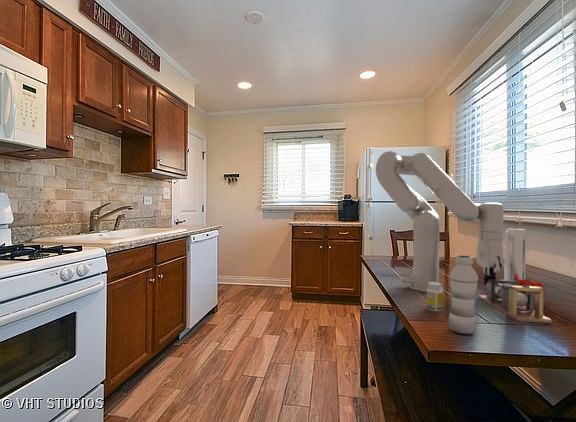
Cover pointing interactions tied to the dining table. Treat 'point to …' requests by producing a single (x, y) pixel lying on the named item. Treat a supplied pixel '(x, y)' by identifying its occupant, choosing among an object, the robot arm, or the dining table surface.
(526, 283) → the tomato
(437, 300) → the supplement bottle
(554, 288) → the dining table surface
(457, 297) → the plastic bottle
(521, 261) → the air filter
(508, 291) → the collar rail
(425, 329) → the dining table surface
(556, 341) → the dining table surface
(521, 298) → the air tube
